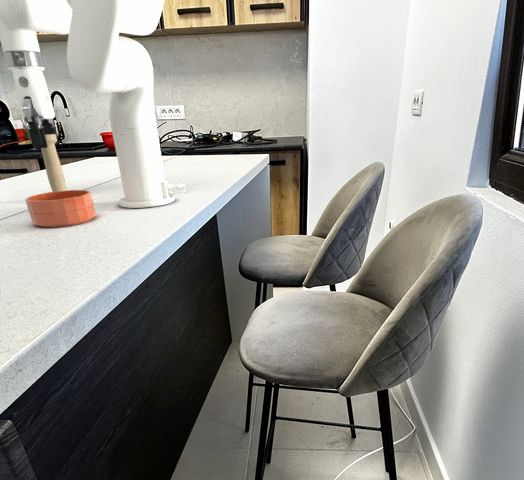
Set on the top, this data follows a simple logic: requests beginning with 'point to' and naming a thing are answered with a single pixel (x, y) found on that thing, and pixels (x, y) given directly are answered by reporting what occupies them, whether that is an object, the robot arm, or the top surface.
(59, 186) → the handle
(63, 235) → the top surface
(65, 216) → the bowl
